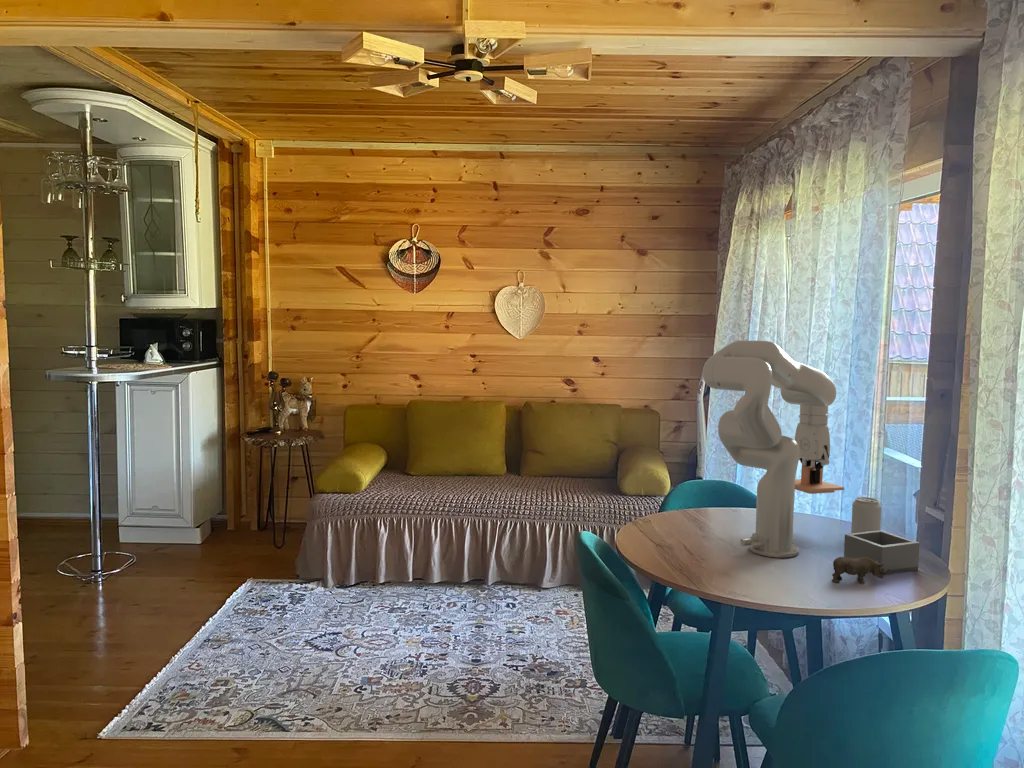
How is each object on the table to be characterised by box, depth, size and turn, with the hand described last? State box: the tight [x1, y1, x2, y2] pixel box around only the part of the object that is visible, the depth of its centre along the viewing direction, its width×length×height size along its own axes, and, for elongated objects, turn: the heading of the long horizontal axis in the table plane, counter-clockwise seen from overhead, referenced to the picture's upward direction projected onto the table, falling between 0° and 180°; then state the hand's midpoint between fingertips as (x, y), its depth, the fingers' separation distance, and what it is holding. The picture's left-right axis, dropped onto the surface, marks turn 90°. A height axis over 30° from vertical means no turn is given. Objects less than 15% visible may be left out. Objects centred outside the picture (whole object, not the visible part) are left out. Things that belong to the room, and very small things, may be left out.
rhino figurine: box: [831, 556, 889, 585], centre depth 174 cm, size 4×14×6 cm, turn 87°
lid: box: [795, 466, 845, 495], centre depth 212 cm, size 12×12×7 cm
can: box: [850, 496, 882, 534], centre depth 207 cm, size 8×8×12 cm
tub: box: [843, 529, 920, 576], centre depth 185 cm, size 12×12×7 cm
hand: (811, 482), depth 212 cm, fingers closed on lid
